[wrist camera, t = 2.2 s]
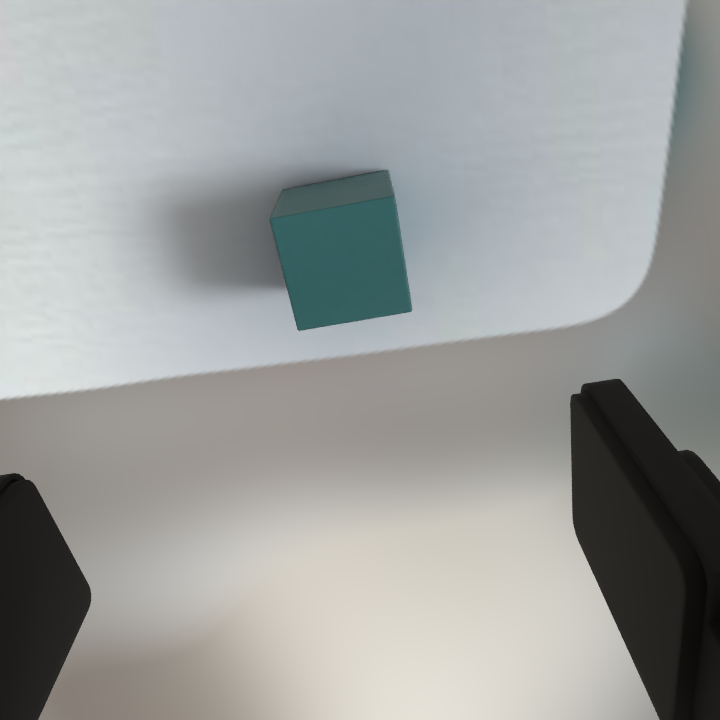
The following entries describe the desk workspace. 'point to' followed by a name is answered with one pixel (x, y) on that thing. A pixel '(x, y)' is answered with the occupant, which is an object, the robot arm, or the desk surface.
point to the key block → (341, 250)
